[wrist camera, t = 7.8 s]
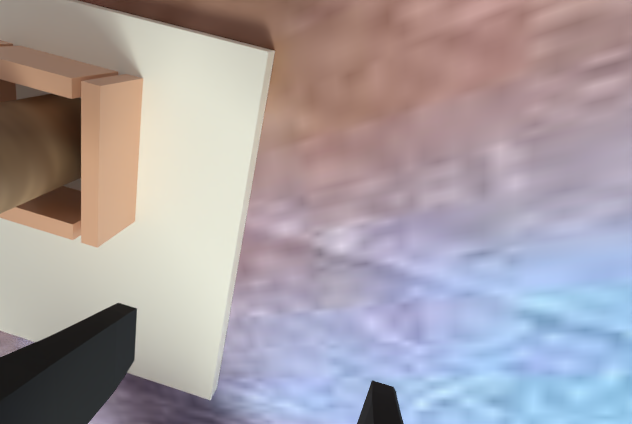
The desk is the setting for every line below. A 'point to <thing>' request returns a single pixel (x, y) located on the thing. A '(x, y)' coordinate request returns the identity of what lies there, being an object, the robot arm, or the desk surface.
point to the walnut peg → (38, 147)
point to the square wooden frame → (83, 144)
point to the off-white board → (148, 191)
